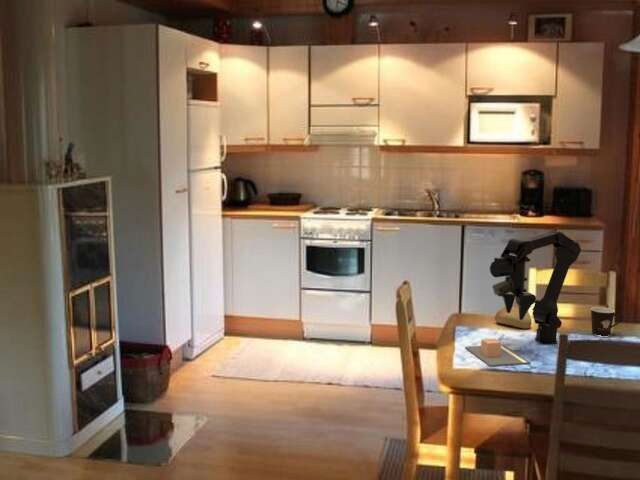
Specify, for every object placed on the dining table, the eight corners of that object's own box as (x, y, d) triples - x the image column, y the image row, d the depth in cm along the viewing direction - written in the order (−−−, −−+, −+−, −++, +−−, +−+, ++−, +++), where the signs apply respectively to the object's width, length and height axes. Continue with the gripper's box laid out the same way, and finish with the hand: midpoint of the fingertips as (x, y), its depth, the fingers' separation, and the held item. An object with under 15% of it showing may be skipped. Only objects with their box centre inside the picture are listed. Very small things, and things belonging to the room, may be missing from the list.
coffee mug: (588, 336, 281) (590, 311, 279) (589, 330, 289) (591, 306, 287) (621, 340, 276) (623, 314, 275) (621, 334, 284) (623, 309, 283)
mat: (502, 345, 267) (502, 344, 267) (530, 363, 248) (530, 361, 248) (465, 348, 264) (465, 346, 264) (490, 366, 245) (490, 364, 244)
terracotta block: (493, 352, 258) (494, 338, 257) (500, 356, 253) (501, 342, 253) (480, 352, 257) (481, 339, 256) (487, 357, 252) (487, 343, 251)
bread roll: (499, 320, 302) (500, 301, 301) (535, 326, 294) (536, 307, 292) (490, 325, 294) (492, 306, 293) (527, 331, 286) (528, 312, 285)
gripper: (484, 270, 268) (482, 310, 271) (508, 281, 250) (506, 325, 253) (511, 268, 271) (509, 309, 273) (538, 279, 253) (535, 322, 256)
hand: (514, 316), depth 264 cm, fingers open, 9 cm apart
